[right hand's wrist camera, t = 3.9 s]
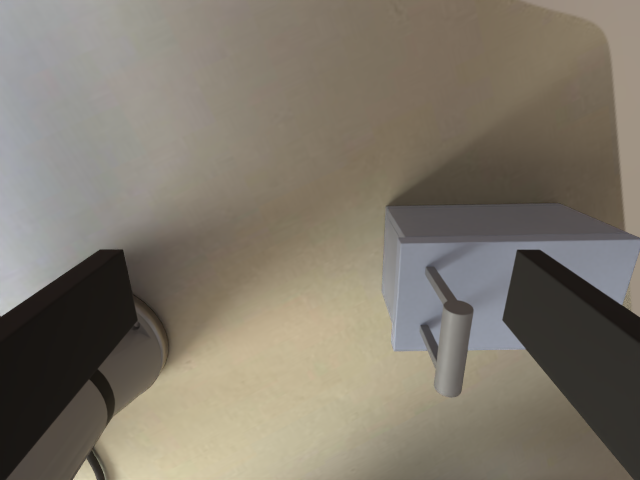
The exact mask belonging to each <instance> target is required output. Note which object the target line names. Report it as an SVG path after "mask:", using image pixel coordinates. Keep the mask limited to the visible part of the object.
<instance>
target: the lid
mask: <svg viewBox="0 0 640 480" xmlns="http://www.w3.org/2000/svg"><path fill="white" fill-rule="evenodd" d="M517 250H541V251H543V252H544V253H546V254H547V255H549V256H550V257H552V258H553V259H555V260H556V261H557V262H559V263H560V264H562V265H563V266H565V267H566V268H568V269H569V270H571V271H572V272H574V273H575V274H577V275H578V276H580V277H581V278H583V279H584V280H585V281H587V282H588V283H590V284H591V285H593V286H594V287H596V288H597V289H599V290H600V291H602V292H603V293H605V294H606V295H608V296H609V297H610V298H612V299H613V300H615V301H616V302H618V303H619V304H621V305H622V304H623V301H624V298H625V295H626V292H627V289H628V286H629V282H630V279H631V276H632V273H633V270H634V267H635V264H636V261H637V258H638V255H639V251H640V238H639V237H637V236H634V235H632V234H582V235H523V236H463V237H403V238H398V240H397V256H396V272H395V288H394V304H393V320H392V336H391V343H392V347H393V350H394V351H428V353H429V355H430V357H431V360H432V362H433V364H434V367H435V369H436V371H435V379H434V387H435V389H436V391H437V392H438V393H440V394H441V395H443V396H446V397H456V396H458V395H459V394H460V393H461V390H462V383H463V377H464V370H465V364H466V357H467V351H468V350H508V349H525V347H524V346H523V345H522V344H521V343H520V341H519V340H518V339H517V338H516V336H515V335H514V334H513V333H512V332H511V330H510V329H509V328H508V327H507V326H506V324H505V323H504V322H503V321H502V318H503V314H504V309H505V304H506V299H507V295H508V290H509V285H510V280H511V276H512V271H513V266H514V261H515V257H516V252H517Z"/></svg>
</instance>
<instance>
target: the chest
mask: <svg viewBox="0 0 640 480" xmlns="http://www.w3.org/2000/svg"><path fill="white" fill-rule="evenodd" d="M582 234H629V233H627V232H625V231H623V230H620V229H618V228H616V227H613V226H611V225H609V224H606V223H604V222H602V221H599V220H597V219H595V218H592V217H590V216H588V215H585V214H583V213H581V212H578V211H576V210H574V209H571V208H569V207H567V206H564V205H562V204H560V203H536V204H478V205H420V206H386V215H385V236H384V256H383V276H382V294H383V297H384V300H385V303H386V306H387V309H388V312H389V315H390V318H391V321H392V320H393V304H394V288H395V272H396V256H397V240H398V238H403V237H463V236H523V235H582Z"/></svg>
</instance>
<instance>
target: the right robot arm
mask: <svg viewBox="0 0 640 480" xmlns="http://www.w3.org/2000/svg"><path fill="white" fill-rule="evenodd" d="M502 321H503V322H504V323H505V324H506V326H507V327H508V328H509V329H510V330H511V332H512V333H513V334H514V335H515V336H516V338H517V339H518V340H519V341H520V343H521V344H522V345H523V346H524V347H525V349H526V350H527V351H528V352H529V353H530V355H531V356H532V357H533V358H534V359H535V361H536V362H537V363H538V364H539V365H540V367H541V368H542V369H543V370H544V372H545V373H546V374H547V375H548V376H549V378H550V379H551V380H552V381H553V382H554V384H555V385H556V386H557V387H558V388H559V390H560V391H561V392H562V393H563V394H564V396H565V397H566V398H567V399H568V401H569V402H570V403H571V404H572V405H573V407H574V408H575V409H576V410H577V411H578V413H579V414H580V415H581V416H582V417H583V419H584V420H585V421H586V422H587V423H588V425H589V426H590V427H591V428H592V430H593V431H594V432H595V433H596V434H597V436H598V437H599V438H600V439H601V440H602V442H603V443H604V444H605V445H606V446H607V448H608V449H609V450H610V451H611V452H612V454H613V455H614V456H615V457H616V459H617V460H618V461H619V462H620V463H621V465H622V466H623V467H624V468H625V469H626V471H627V472H628V473H629V474H630V475H631V477H632V478H633V479H634V480H640V317H638V316H637V315H636V314H634V313H633V312H631V311H630V310H628V309H627V308H625V307H624V306H622V305H621V304H619V303H618V302H616V301H615V300H613V299H612V298H610V297H609V296H608V295H606V294H605V293H603V292H602V291H600V290H599V289H597V288H596V287H594V286H593V285H591V284H590V283H588V282H587V281H585V280H584V279H583V278H581V277H580V276H578V275H577V274H575V273H574V272H572V271H571V270H569V269H568V268H566V267H565V266H563V265H562V264H560V263H559V262H557V261H556V260H555V259H553V258H552V257H550V256H549V255H547V254H546V253H544V252H543V251H541V250H517V252H516V257H515V261H514V266H513V271H512V276H511V280H510V285H509V290H508V295H507V299H506V304H505V309H504V314H503V318H502ZM167 356H168V340H167V336H166V333H165V330H164V328H163V325H162V323H161V322H160V320H159V319H158V317H157V316H156V314H155V313H154V312H153V311H152V310H151V309H150V308H149V307H148V306H147V305H146V304H145V303H144V302H142V301H141V300H140V299H138V298H137V297H136V296H134V295H132V290H131V285H130V280H129V276H128V271H127V266H126V261H125V257H124V252H123V250H99V251H97V252H96V253H94V254H93V255H91V256H90V257H88V258H87V259H85V260H84V261H83V262H81V263H80V264H78V265H77V266H75V267H74V268H72V269H71V270H69V271H68V272H66V273H65V274H63V275H62V276H60V277H59V278H57V279H56V280H55V281H53V282H52V283H50V284H49V285H47V286H46V287H44V288H43V289H41V290H40V291H38V292H37V293H35V294H34V295H32V296H31V297H30V298H28V299H27V300H25V301H24V302H22V303H21V304H19V305H18V306H16V307H15V308H13V309H12V310H10V311H9V312H7V313H6V314H4V315H3V316H2V317H1V316H0V480H73V478H74V477H75V475H76V474H77V472H78V470H79V469H80V467H81V466H82V464H83V463H84V461H85V459H86V458H87V460H88V462H89V463H90V465H91V467H92V469H93V471H94V473H95V475H96V478H97V480H105V478H104V474H103V471H102V469H101V467H100V465H99V463H98V461H97V459H96V457H95V456H94V454H93V452H92V448H93V447H94V445H95V444H96V442H97V440H98V439H99V437H100V436H101V434H102V432H103V431H104V429H105V428H106V426H107V424H108V423H109V422H110V420H111V419H112V417H113V416H114V415H116V414H117V413H118V412H119V411H121V410H122V409H123V408H124V407H126V406H127V405H128V404H129V403H131V402H132V401H133V400H134V399H135V398H136V397H138V396H139V395H140V394H142V393H143V392H145V391H146V390H147V389H148V388H149V387H150V386H151V385H152V384H153V383H154V382H155V380H156V379H157V377H158V375H159V374H160V372H161V370H162V369H163V367H164V365H165V362H166V360H167Z"/></svg>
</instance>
